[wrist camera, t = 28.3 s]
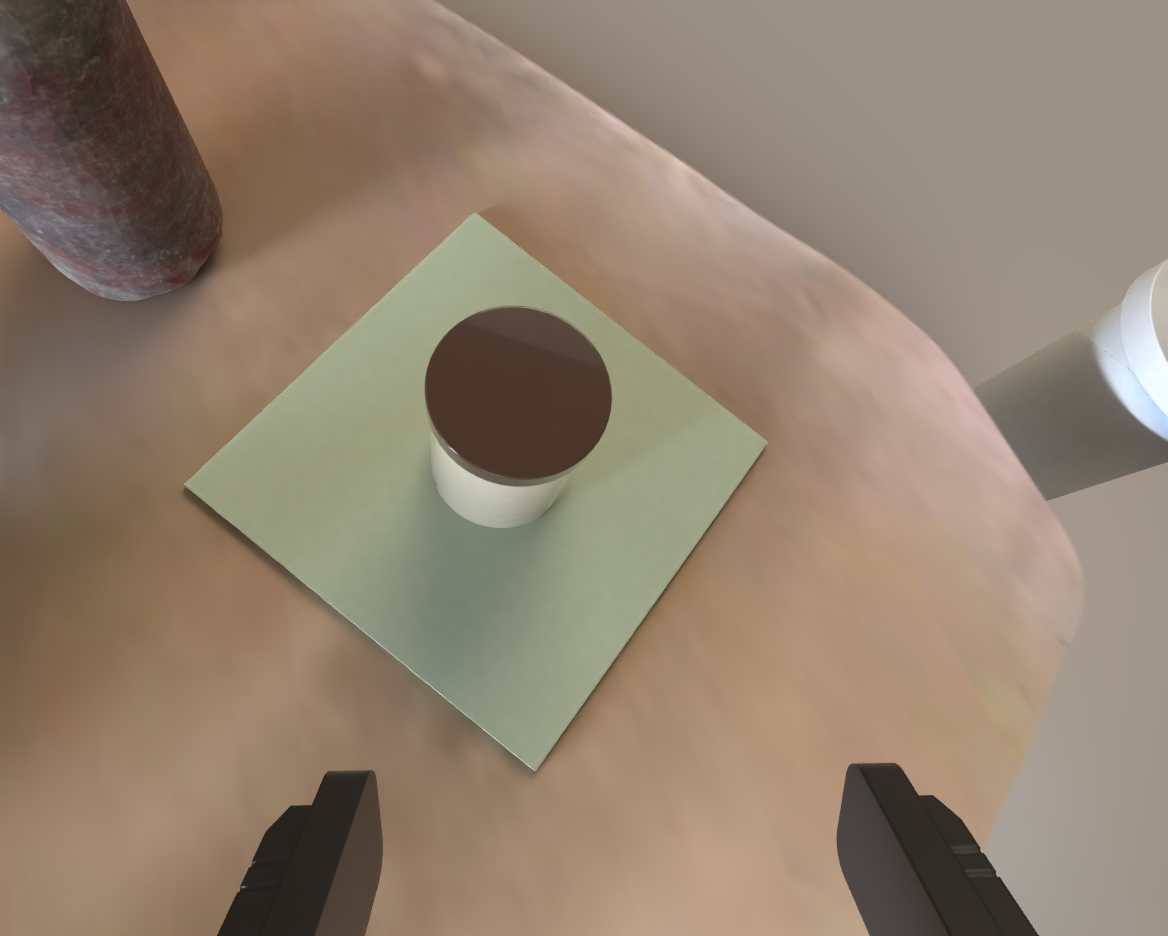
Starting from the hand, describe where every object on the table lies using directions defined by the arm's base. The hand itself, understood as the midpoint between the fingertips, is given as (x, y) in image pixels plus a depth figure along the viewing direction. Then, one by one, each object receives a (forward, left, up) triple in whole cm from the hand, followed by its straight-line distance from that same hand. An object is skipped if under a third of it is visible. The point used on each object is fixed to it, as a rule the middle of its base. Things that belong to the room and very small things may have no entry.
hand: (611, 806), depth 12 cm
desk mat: (-9, -8, -18) cm, 21 cm away
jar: (-9, -8, -17) cm, 21 cm away
